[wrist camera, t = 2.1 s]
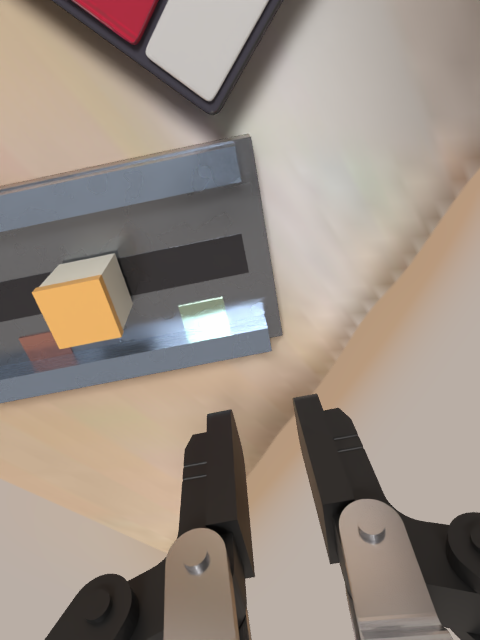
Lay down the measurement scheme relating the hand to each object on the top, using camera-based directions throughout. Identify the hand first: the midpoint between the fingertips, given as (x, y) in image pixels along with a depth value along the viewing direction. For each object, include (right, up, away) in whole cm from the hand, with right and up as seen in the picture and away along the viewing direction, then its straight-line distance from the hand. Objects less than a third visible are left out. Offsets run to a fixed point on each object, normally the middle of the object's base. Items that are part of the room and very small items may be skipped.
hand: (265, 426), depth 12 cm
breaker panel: (-11, +6, +15) cm, 20 cm away
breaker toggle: (-10, +5, +13) cm, 17 cm away
